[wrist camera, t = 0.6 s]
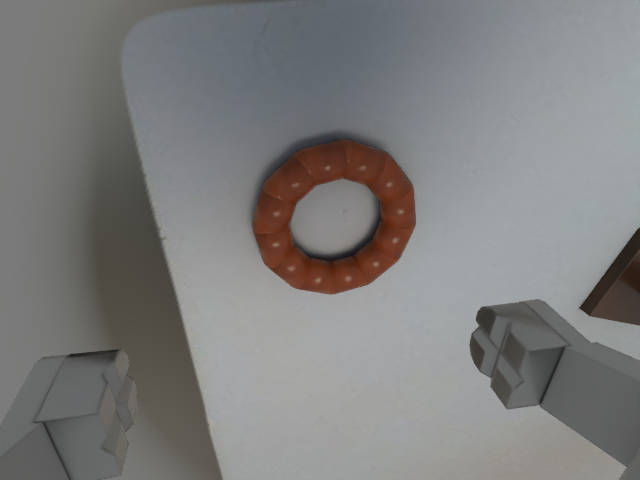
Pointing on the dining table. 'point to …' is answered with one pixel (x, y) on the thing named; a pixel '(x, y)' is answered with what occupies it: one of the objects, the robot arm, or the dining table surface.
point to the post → (619, 288)
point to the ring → (318, 169)
